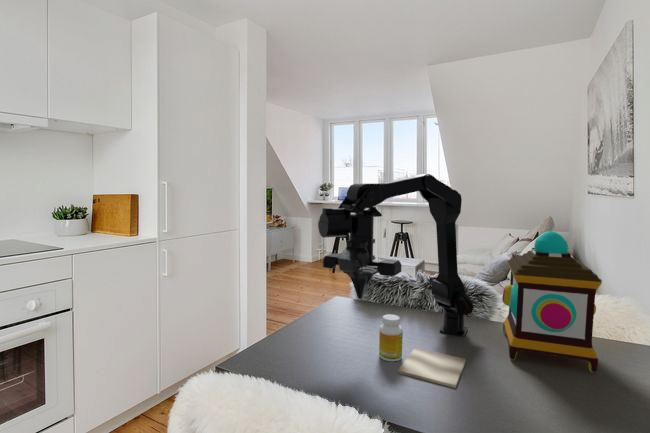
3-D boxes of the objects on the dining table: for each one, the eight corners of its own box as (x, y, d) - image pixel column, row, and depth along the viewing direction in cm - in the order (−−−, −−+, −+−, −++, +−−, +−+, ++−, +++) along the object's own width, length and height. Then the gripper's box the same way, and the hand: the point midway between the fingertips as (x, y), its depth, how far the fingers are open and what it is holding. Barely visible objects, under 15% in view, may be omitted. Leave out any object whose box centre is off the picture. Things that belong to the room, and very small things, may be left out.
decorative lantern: (607, 379, 79) (617, 239, 76) (503, 362, 86) (510, 233, 83) (580, 342, 97) (587, 228, 95) (497, 331, 104) (502, 225, 102)
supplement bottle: (401, 363, 85) (403, 322, 84) (378, 360, 86) (379, 320, 85) (401, 352, 90) (402, 314, 89) (379, 350, 91) (380, 312, 91)
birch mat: (414, 350, 92) (414, 347, 92) (465, 361, 86) (465, 359, 86) (397, 372, 81) (397, 370, 81) (455, 388, 75) (455, 385, 75)
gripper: (311, 236, 87) (310, 301, 89) (386, 243, 78) (384, 315, 79) (333, 231, 97) (333, 289, 98) (402, 236, 88) (401, 301, 89)
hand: (360, 298), depth 91 cm, fingers closed
